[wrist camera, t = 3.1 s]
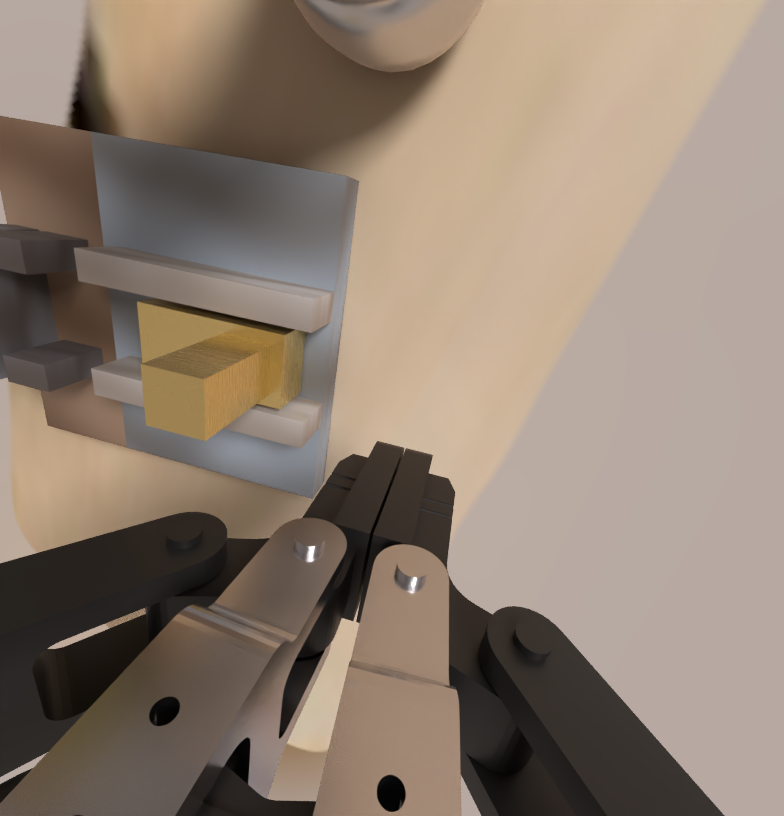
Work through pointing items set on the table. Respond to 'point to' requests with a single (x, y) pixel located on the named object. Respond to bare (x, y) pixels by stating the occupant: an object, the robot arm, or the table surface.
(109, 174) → the lock board
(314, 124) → the table surface
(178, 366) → the bolt
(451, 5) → the silver threaded hollow container
